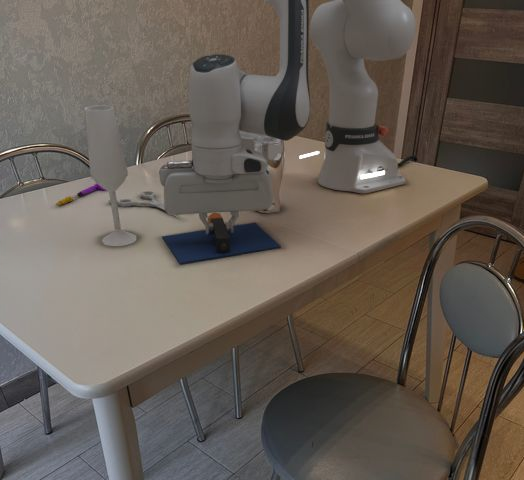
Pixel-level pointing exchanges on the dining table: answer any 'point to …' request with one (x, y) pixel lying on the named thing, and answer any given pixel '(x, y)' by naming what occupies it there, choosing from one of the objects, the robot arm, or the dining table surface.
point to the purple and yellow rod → (80, 194)
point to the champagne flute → (107, 163)
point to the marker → (219, 233)
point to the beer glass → (272, 165)
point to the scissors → (143, 194)
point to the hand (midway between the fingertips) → (219, 232)
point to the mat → (203, 247)
